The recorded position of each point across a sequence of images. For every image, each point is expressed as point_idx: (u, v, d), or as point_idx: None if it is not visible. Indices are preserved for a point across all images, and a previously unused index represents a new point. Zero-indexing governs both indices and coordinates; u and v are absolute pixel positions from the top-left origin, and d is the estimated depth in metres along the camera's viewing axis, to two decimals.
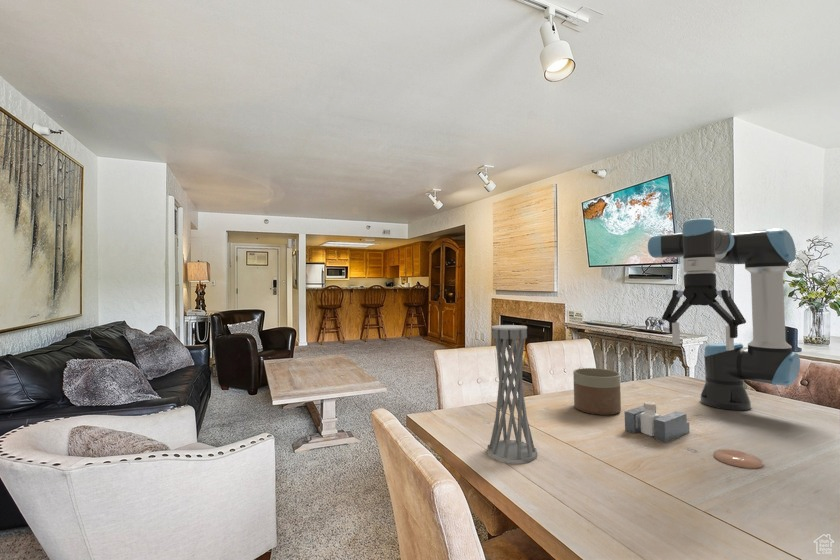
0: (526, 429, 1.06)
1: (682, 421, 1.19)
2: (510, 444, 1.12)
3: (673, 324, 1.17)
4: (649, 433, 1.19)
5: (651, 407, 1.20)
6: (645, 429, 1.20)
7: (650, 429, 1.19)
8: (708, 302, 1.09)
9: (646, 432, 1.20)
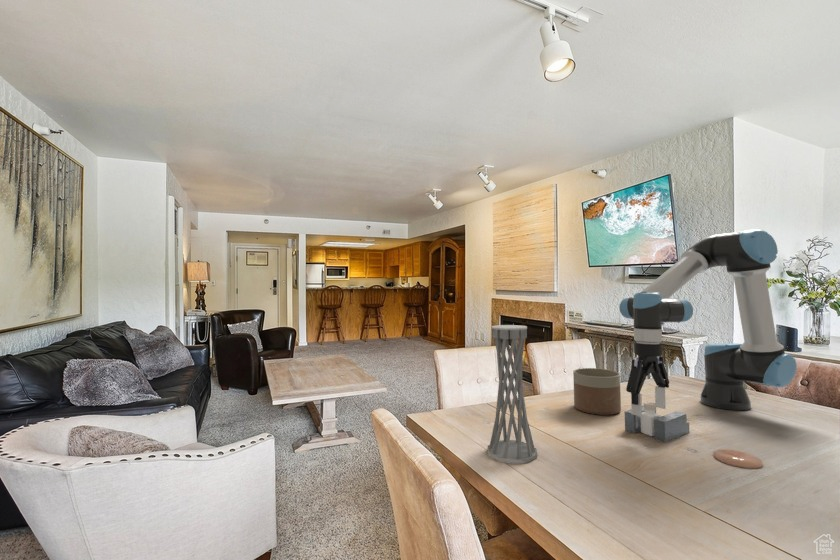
0: (526, 429, 1.06)
1: (682, 421, 1.19)
2: (510, 444, 1.12)
3: None
4: (649, 433, 1.19)
5: (651, 407, 1.20)
6: (645, 429, 1.20)
7: (650, 429, 1.19)
8: None
9: (646, 432, 1.20)
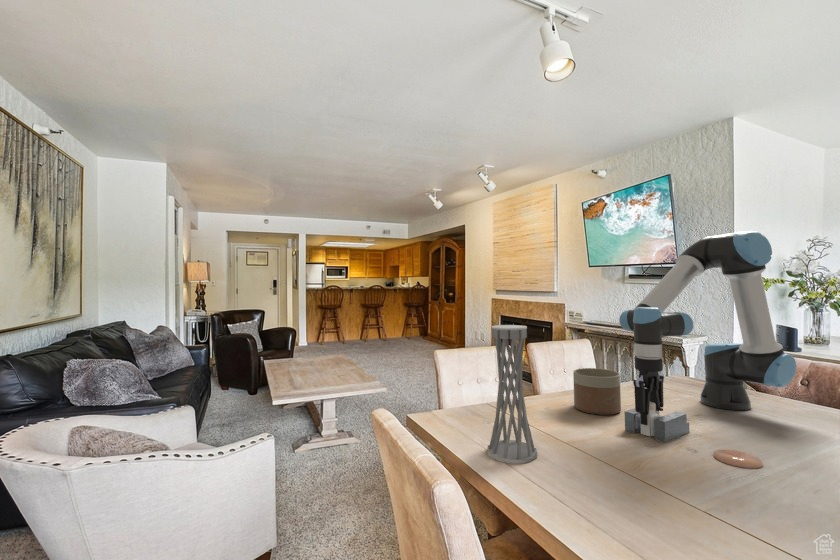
0: (526, 429, 1.06)
1: (682, 421, 1.19)
2: (510, 444, 1.12)
3: None
4: None
5: (651, 407, 1.20)
6: None
7: None
8: None
9: None
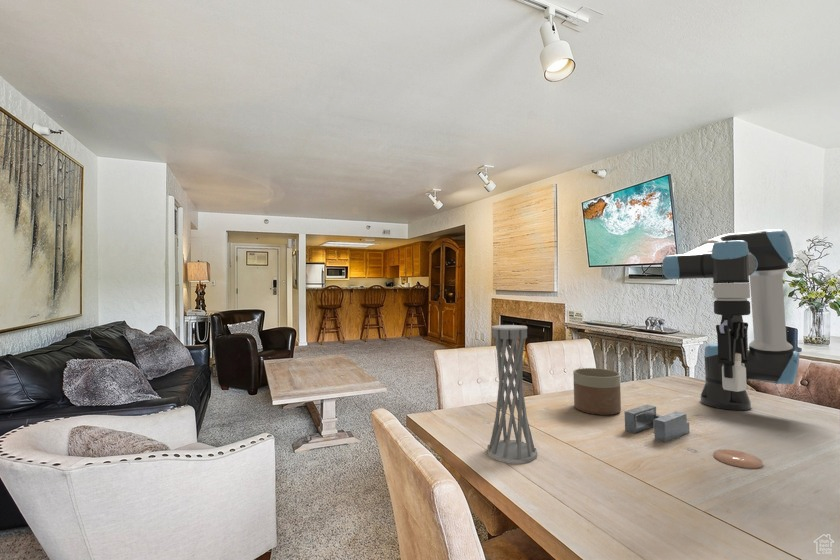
0: (526, 429, 1.06)
1: (682, 421, 1.19)
2: (510, 444, 1.12)
3: None
4: None
5: (736, 357, 1.01)
6: None
7: None
8: None
9: None
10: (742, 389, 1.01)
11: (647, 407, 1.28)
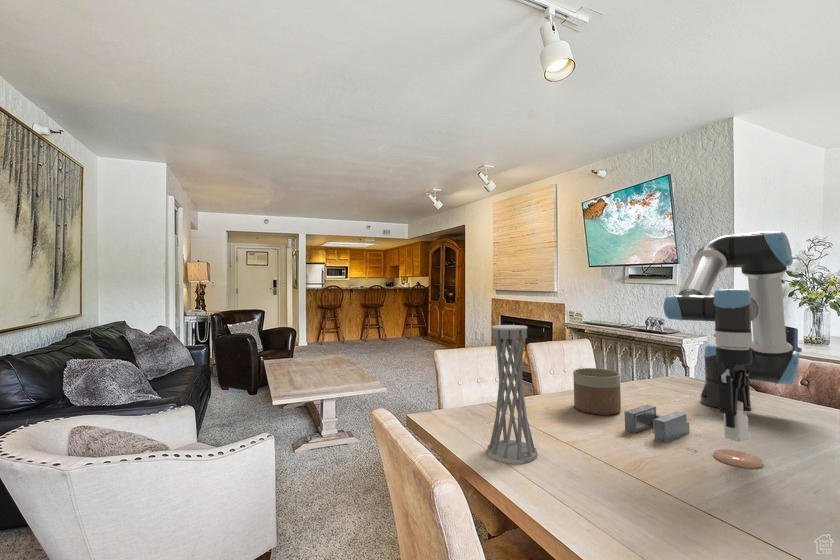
0: (526, 429, 1.06)
1: (682, 421, 1.19)
2: (510, 444, 1.12)
3: None
4: None
5: (738, 406, 1.01)
6: None
7: None
8: None
9: None
10: (744, 438, 1.00)
11: (647, 407, 1.28)
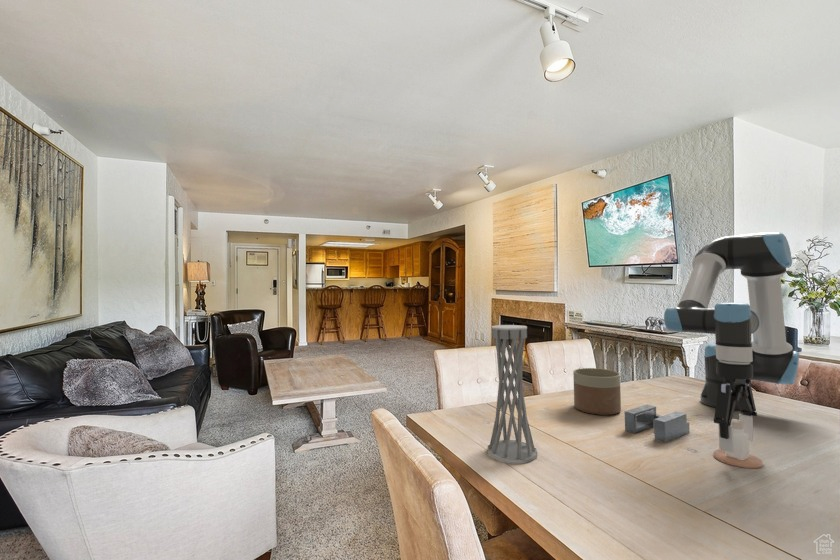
0: (526, 429, 1.06)
1: (682, 421, 1.19)
2: (510, 444, 1.12)
3: None
4: (738, 457, 1.00)
5: (739, 425, 1.01)
6: (731, 452, 1.02)
7: (739, 452, 1.00)
8: None
9: (733, 455, 1.01)
10: (745, 458, 1.00)
11: (647, 407, 1.28)
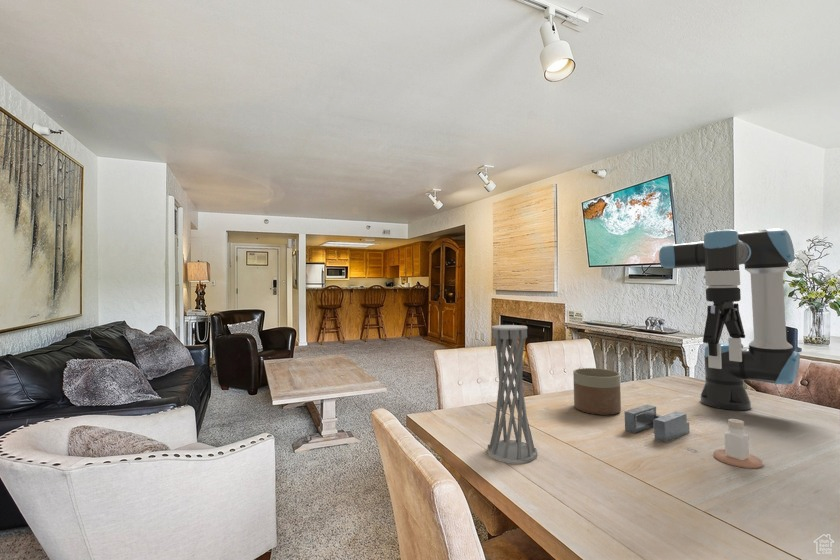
0: (526, 429, 1.06)
1: (682, 421, 1.19)
2: (510, 444, 1.12)
3: None
4: (738, 457, 1.00)
5: (739, 425, 1.01)
6: (731, 452, 1.02)
7: (739, 452, 1.00)
8: None
9: (733, 455, 1.01)
10: (745, 458, 1.00)
11: (647, 407, 1.28)
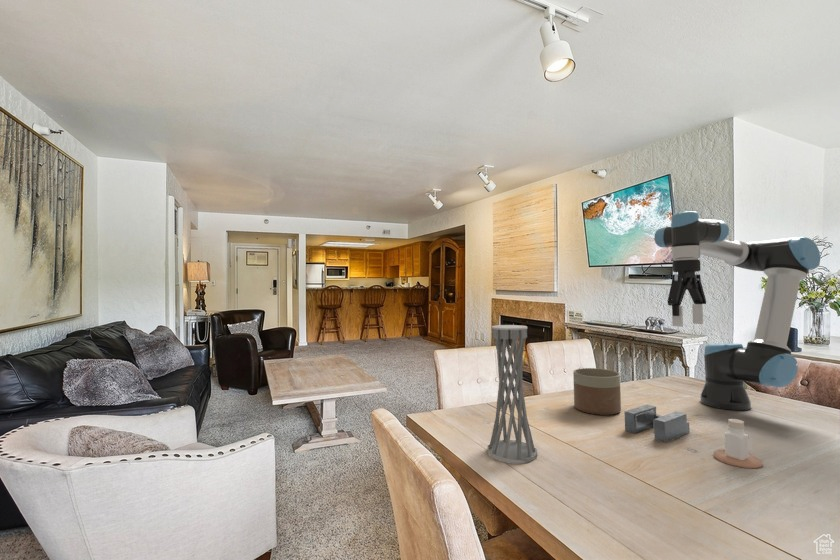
0: (526, 429, 1.06)
1: (682, 421, 1.19)
2: (510, 444, 1.12)
3: None
4: (738, 457, 1.00)
5: (739, 425, 1.01)
6: (731, 452, 1.02)
7: (739, 452, 1.00)
8: None
9: (733, 455, 1.01)
10: (745, 458, 1.00)
11: (647, 407, 1.28)
